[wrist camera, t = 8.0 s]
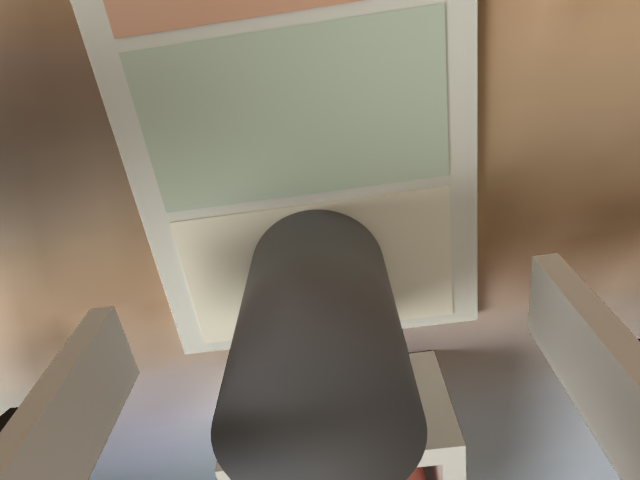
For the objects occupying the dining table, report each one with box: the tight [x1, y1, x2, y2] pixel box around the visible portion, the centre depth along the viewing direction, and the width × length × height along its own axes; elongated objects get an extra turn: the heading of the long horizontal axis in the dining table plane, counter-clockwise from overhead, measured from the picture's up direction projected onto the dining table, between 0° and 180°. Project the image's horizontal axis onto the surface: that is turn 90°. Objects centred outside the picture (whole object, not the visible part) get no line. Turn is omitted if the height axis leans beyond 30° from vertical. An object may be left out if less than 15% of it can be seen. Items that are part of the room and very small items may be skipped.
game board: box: [70, 0, 478, 480], centre depth 17 cm, size 12×28×5 cm, turn 8°
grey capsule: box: [211, 209, 427, 480], centre depth 15 cm, size 5×5×8 cm
